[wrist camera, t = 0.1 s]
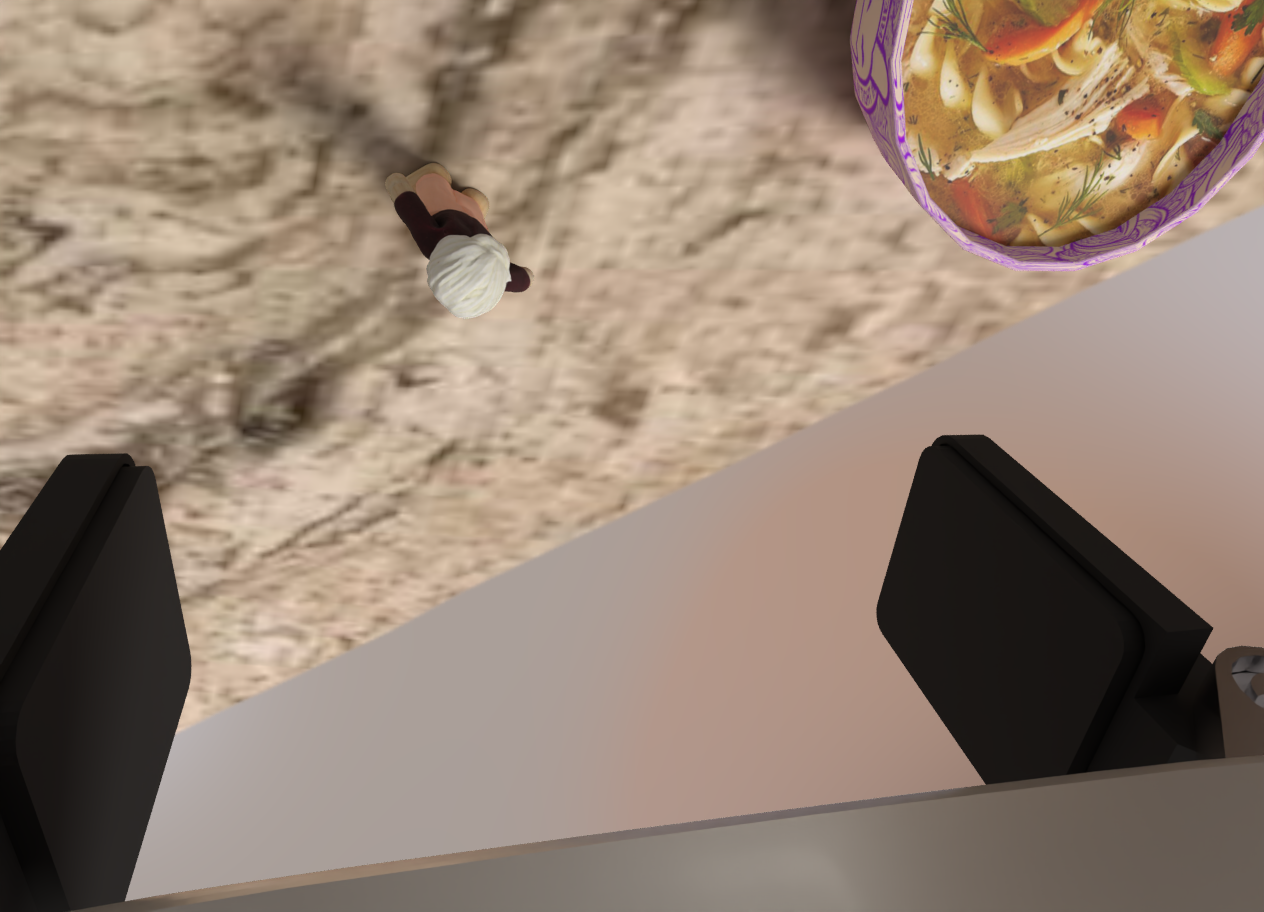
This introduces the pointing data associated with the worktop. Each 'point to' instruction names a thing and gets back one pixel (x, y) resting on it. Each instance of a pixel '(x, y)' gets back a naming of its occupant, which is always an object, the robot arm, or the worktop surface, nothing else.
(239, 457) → the worktop surface
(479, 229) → the grandmother figurine
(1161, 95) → the bowl of food
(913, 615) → the robot arm
